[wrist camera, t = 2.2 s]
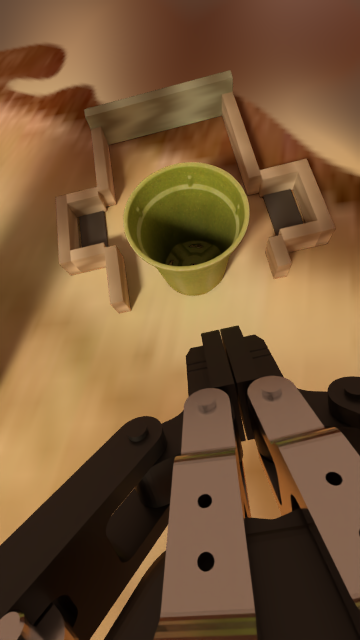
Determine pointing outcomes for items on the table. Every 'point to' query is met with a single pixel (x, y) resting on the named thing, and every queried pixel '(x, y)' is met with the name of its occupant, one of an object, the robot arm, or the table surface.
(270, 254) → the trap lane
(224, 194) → the plant pot
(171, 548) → the robot arm
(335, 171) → the table surface
